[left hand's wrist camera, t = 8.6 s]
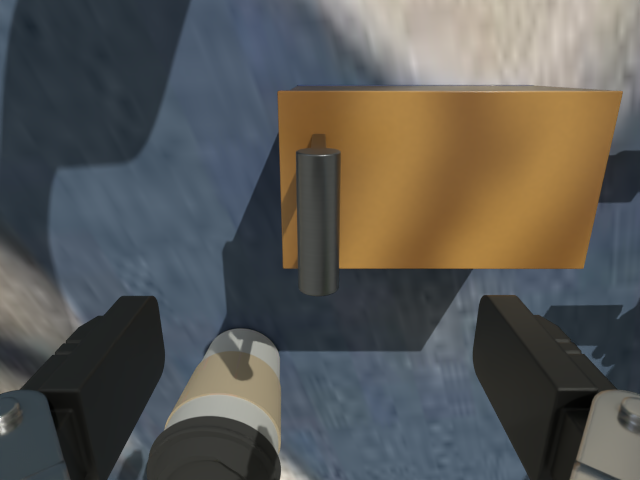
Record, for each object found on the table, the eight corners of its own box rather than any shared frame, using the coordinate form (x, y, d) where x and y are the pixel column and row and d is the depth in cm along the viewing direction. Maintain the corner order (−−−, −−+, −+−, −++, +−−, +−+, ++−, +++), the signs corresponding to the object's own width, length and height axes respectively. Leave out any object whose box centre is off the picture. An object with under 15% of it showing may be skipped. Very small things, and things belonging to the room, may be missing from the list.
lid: (284, 263, 28) (270, 337, 20) (278, 90, 24) (259, 99, 17) (576, 263, 28) (675, 337, 20) (613, 90, 24) (751, 99, 16)
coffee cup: (246, 413, 45) (212, 569, 31) (176, 358, 43) (105, 499, 28) (311, 361, 43) (307, 503, 29) (241, 299, 40) (199, 421, 26)
